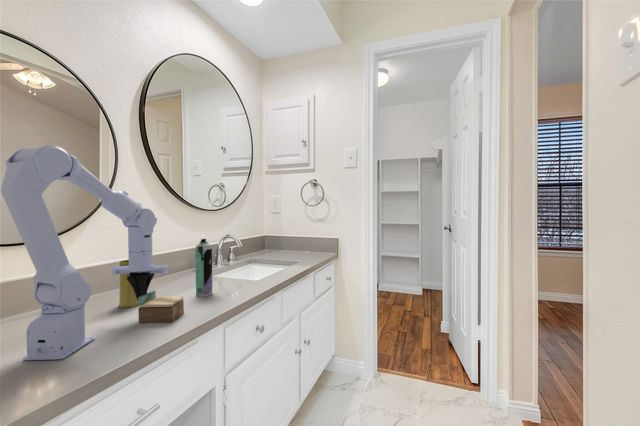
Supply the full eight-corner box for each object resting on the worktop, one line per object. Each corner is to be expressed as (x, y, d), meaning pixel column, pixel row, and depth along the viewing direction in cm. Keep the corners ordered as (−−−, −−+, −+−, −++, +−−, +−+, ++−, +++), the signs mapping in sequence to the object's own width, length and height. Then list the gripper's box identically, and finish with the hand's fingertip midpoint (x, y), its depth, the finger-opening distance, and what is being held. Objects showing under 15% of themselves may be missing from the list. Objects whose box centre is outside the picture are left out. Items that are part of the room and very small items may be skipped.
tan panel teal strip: (172, 306, 79) (172, 297, 79) (138, 307, 79) (138, 297, 79) (183, 298, 86) (183, 289, 86) (152, 299, 86) (152, 290, 86)
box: (172, 322, 79) (172, 307, 79) (138, 323, 79) (138, 308, 79) (183, 313, 86) (183, 299, 86) (152, 313, 86) (152, 300, 86)
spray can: (212, 295, 103) (211, 239, 103) (195, 297, 101) (194, 239, 101) (212, 291, 108) (211, 237, 108) (196, 293, 106) (195, 238, 106)
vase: (130, 308, 90) (129, 262, 90) (113, 307, 92) (112, 262, 91) (145, 302, 96) (145, 259, 96) (130, 301, 97) (129, 258, 97)
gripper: (173, 248, 86) (174, 294, 86) (123, 249, 86) (124, 295, 86) (161, 252, 79) (162, 302, 79) (106, 253, 79) (107, 303, 79)
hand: (141, 299), depth 82 cm, fingers closed
